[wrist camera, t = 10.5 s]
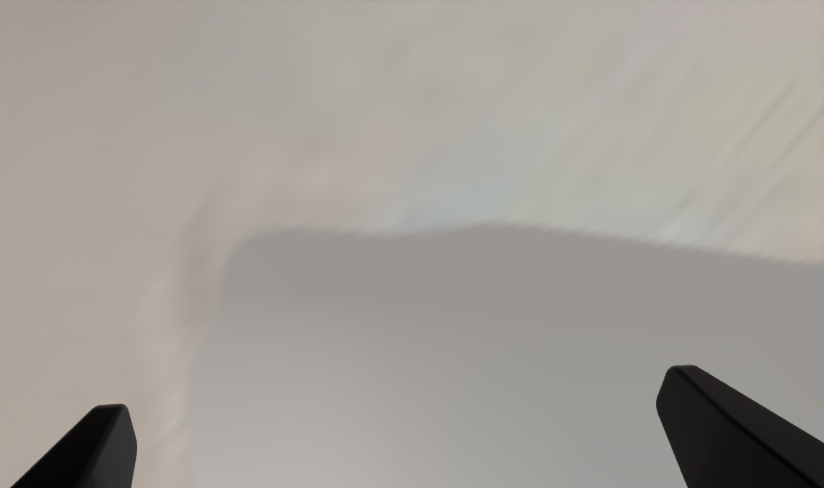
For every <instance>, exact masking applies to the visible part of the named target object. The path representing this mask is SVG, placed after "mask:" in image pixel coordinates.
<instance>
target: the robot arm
mask: <svg viewBox="0 0 824 488" xmlns="http://www.w3.org/2000/svg"><path fill="white" fill-rule="evenodd" d="M656 408H657V412H658V415H659V417H660V420H661V422H662V425H663V428H664V430H665V433H666V435H667V437H668V440H669V443H670V445H671V447H672V450H673V452H674V455H675V457H676V460H677V462H678V465H679V467H680V470H681V473H682V475H683V478H684V480H685V482H686V485H687V487H688V488H824V443H823V442H821V441H820V440H818V439H817V438H815V437H813V436H811V435H810V434H808V433H806V432H805V431H803V430H801V429H800V428H798V427H796V426H795V425H793V424H792V423H790V422H788V421H787V420H785V419H783V418H782V417H780V416H778V415H777V414H775V413H773V412H772V411H770V410H768V409H767V408H765V407H763V406H762V405H760V404H758V403H757V402H755V401H754V400H752V399H750V398H748V397H747V396H745V395H744V394H742V393H740V392H738V391H737V390H735V389H733V388H732V387H730V386H729V385H727V384H725V383H724V382H722V381H720V380H718V379H717V378H715V377H714V376H712V375H710V374H709V373H707V372H705V371H704V370H702V369H700V368H698V367H697V366H694V365H677V366H672V367H670V368H669V369H668V371H667V372H666V375H665V378H664V380H663V383H662V386H661V388H660V391H659V393H658V396H657V400H656ZM136 455H137V441H136V436H135V433H134V429H133V425H132V422H131V418H130V414H129V411H128V408H127V407H126V406H125V405H124V404H109V405H98V406H96V407H94V408H93V409H92V410H90V411H89V412H88V413H87V414H86V415H85V416H84V417H83V418H82V419H81V420H80V421H79V422H78V423H77V424H76V425H75V426H74V427H73V428H72V429H71V430H70V431H69V432H68V433H67V434H65V435H64V436H63V437H62V438H61V439H60V440H59V441H58V442H57V443H56V444H55V445H54V446H53V447H52V448H51V449H50V450H49V451H48V452H47V453H46V454H45V455H44V456H43V457H42V458H41V459H40V460H38V461H37V462H36V463H35V464H34V465H33V466H32V467H31V468H30V469H29V470H28V471H27V472H26V473H25V474H24V475H23V476H22V477H21V478H20V479H19V480H18V481H17V482H16V483H15V484H14V485H12V486H11V487H10V488H131V485H132V479H133V473H134V467H135V461H136Z"/></svg>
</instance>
